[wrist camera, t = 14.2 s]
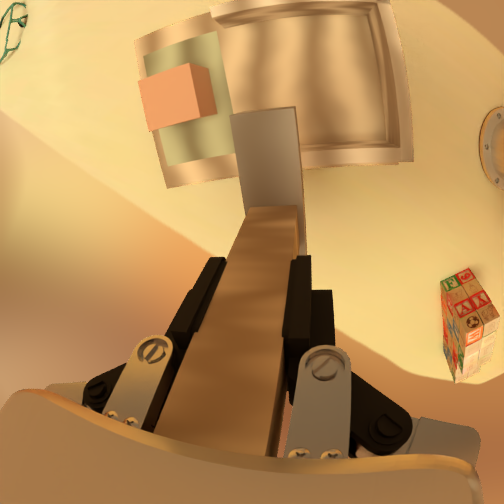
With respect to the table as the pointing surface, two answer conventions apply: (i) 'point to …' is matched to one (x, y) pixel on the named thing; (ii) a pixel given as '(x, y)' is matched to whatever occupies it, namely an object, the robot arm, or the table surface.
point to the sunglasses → (9, 27)
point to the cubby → (288, 82)
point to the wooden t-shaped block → (247, 302)
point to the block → (177, 96)
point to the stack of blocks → (467, 324)
